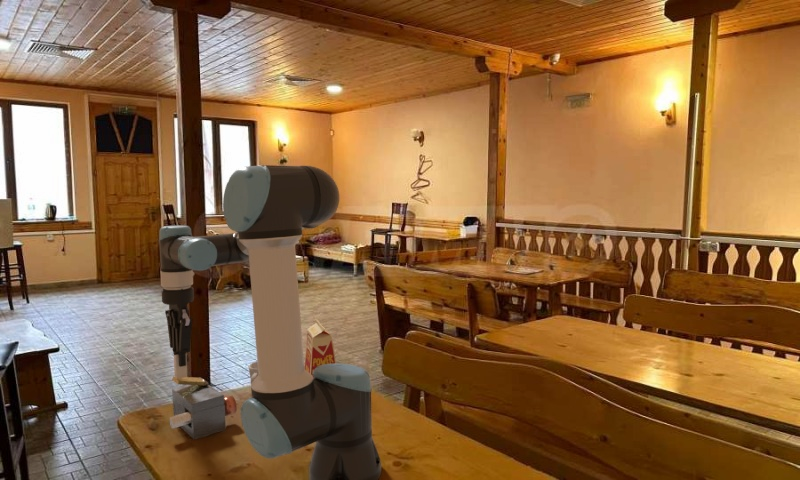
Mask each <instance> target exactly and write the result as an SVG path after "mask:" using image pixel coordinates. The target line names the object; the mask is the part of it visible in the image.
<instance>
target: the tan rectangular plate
mask: <svg viewBox="0 0 800 480" xmlns="http://www.w3.org/2000/svg"><path fill="white" fill-rule="evenodd" d="M171 381H173V382H174V383H175V384H177V385H178V386H182V385H203V386H208V385H210V383H209V382H208V381H207V380H206V379H204V378H202V377H193V376H192V377H191V376H190V377H189V376H187V377H184V378H180V379H176V378H175V375H173V376H172V379H171Z"/></svg>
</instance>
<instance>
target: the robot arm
mask: <svg viewBox="0 0 800 480" xmlns="http://www.w3.org/2000/svg"><path fill="white" fill-rule="evenodd" d="M338 187H339V186H338V184H337V183H336V181H335V180H334V178H332V176H331V175H330V174H329V173H327V172H326V171H325V170H323V169H321V168H319V167H316V166H311V165H272V164H271V165H270V164H268V165H267V164H266V165H264V164H262V165H260V164H258V165H251V166H250V165H249V166H248V165H247V166H241V167H240V168H238V169H236V170H235V171H234V172H233V173H232V174H231V175H230V177H229V179H228V180H227V183H226V185H225V189H224V192H223V198H222V200H223V201H222V211H223V217H224V219H225V220H226V221H225V223H226V225H227V227H228V228H229V229H230V230H231V231H234V232H233V233H232V232H231V233H223V234H214V235H213V234H211V235H201V236H199V235H198V236H193V234H192V228H191V227H190V226H189V225H165V226H162V227H160V228H159V234H158V235H159V236H158V243H159V258H160V286H161V287H162V289H161V302H162V304H164V305H168V309H167V310H165V312H164V313H165V317H166V322H167V323H166V325H167V330H168V331H167V333H168V339H169V347H170V348H171V349H172V353H173V369H174V371H173V373H174V377H175V378H176V379H180V378H184V377H188V361H187V359H188V357H187V355H188V353H190V352H191V344H192V343H191V342H192V341H191V338H192V326H193V321H194V319H193V317H189V316H190V309H188V304H191V303H192V302H194V299H195V296H194V295H195V294H194V293H195V292H194V289H195V288H194V287H193V284H194V276H195V272H194V271H206V270H208V269H210V268H212V267H218V266H225V265H229V264H237V263H238V264H240V263H249V265H248V266H249V274H250V285H251V286H250V288H251V298H252V299H251V300H252V311H253V323H254V324H253V325H254V326H253V327H254V334H255V335H254V336H255V348H256V362H258V374H259V375H258V376H257V378H256V379H255V380H254V381H253V382H252V384H251V383H250V388H251V397H249V398H247V399H246V400H244V401H243V402H242V404H241V407H240V421H241V425H242V428H243V432H244V434H245V436H246V438H247V441H248V442H249V443H250V446H252V448H253V449H254V450H255V452H257V453H258V455H260V456H261V457H263V458H266V459H276V458H278V457H281V456H284V455H290V454H292V453H293V452H295V451H297V450H299V449H302V448H304V447H307V446H309V445H312V444H314V443H315V444H314V448H313V452H312V456H311V460H310V462H309V464H308V475H309V478H308V479H309V480H379V479H380V478H381V475H382V462H381V461H382V460H381V457H380V455H379V452H378V449H377V447H376V445H375V444H376V443H375V441H374V438H373V425H372V389H373V388H372V387H371V377H370V374H369V372H368V371H367V370H366V369H365V368H362V367H360V366H358V365H355V364H349V363H337V362H336V363H335V364H324V365H320V366H318V367H316V368H315V369H314V373H313V376H314V378H313V376H312V375H311V374H310V373H309V372H307V371H306V370H305V369H304V366H305V357H304V347H303V346H304V345H303V334H302V333H303V331H302V330H303V329H302V317H301V306H300V293H299V282H298V281H299V280H298V267H297V254H296V244H297V243H298V242H299V241H300V240H301V238H303V231H304V229H307V230H311V229H315V228H317V227H319V226H321V225H324V224H325V223H327V222H328V221H329V220H331V218H333V217H334V215H335V214H336V212H337V210H338V208H339V204H340V192H339V188H338Z"/></svg>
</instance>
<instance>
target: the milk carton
mask: <svg viewBox="0 0 800 480" xmlns="http://www.w3.org/2000/svg"><path fill="white" fill-rule="evenodd" d="M314 319H315V323H313V324H312V325H311V326H310V327H308V328H307V329H306V348H305V357H304V369H305V370H306V371H307V372H309V373H310V374H311V375H312V376H313V373H314V369H315V368H316V367H318V366H320V365H324V364H335V363H337V361H336V353H335V348H334V343H333V338H332V335H331V333H330V332H329V331H328V329H326V328H325V327H324V326H323V325H322V323H321V322H320V321H319V319H318V318H314ZM313 378H314V376H313Z"/></svg>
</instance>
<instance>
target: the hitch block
mask: <svg viewBox="0 0 800 480" xmlns="http://www.w3.org/2000/svg"><path fill="white" fill-rule="evenodd" d="M171 397H172V406H173V408H172V409H173V410H172V411H173V416H175V415H179V414H182V413H186V412H189V411H190V412H191V423H190V424H186V425H183V426H180V427H179V428H181V429H182V430H183V431H184V432H185V433H186V434H187V435H188V436H189V437H191V438H192V440H194V441H195V440H198V439H200V438H204V437H207V436H209V435H213V434H216V433H220V432H222V431H225V430H227V427H226V425H227V423H226V421H227V420H226V416H225V404H224V398H225V395H224V394H223V393H222V392H221V391H219V390H217V389H215V388H214V387H213V386H211V385H210V384H209V385H208V386H203V385H178V386H175V387H172V388H171Z"/></svg>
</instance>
